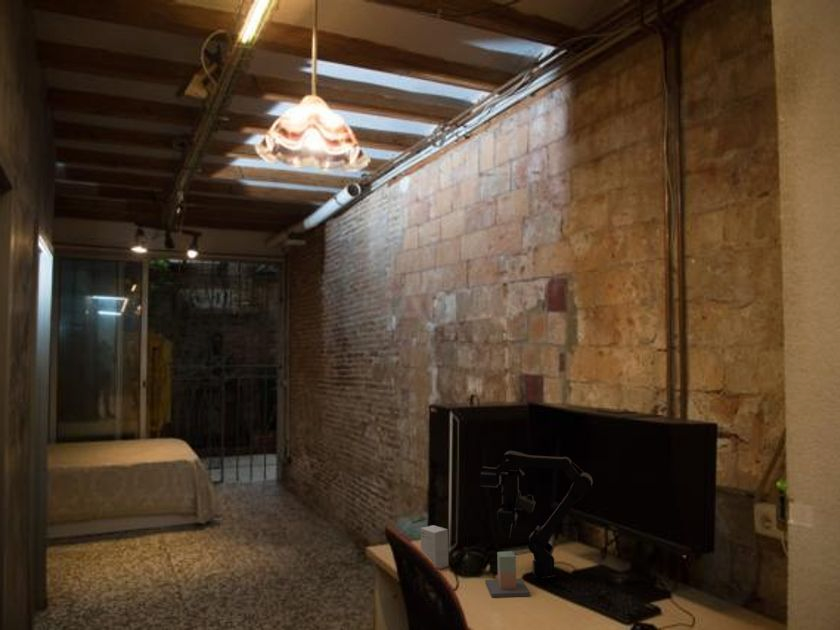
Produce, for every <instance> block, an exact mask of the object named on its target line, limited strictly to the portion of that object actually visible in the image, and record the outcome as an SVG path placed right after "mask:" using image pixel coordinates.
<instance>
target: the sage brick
mask: <svg viewBox="0 0 840 630" xmlns="http://www.w3.org/2000/svg"><path fill="white" fill-rule="evenodd" d="M496 556H497V558H496V559H497V560H496V561H497V563H496V564H497V570H498V569H499V571H500V573H515V572H516V573H517V562H516V561H517V560H516V558H517V557H516V555H515V553H514V551H512V550H511V551H497V553H496Z"/></svg>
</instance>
